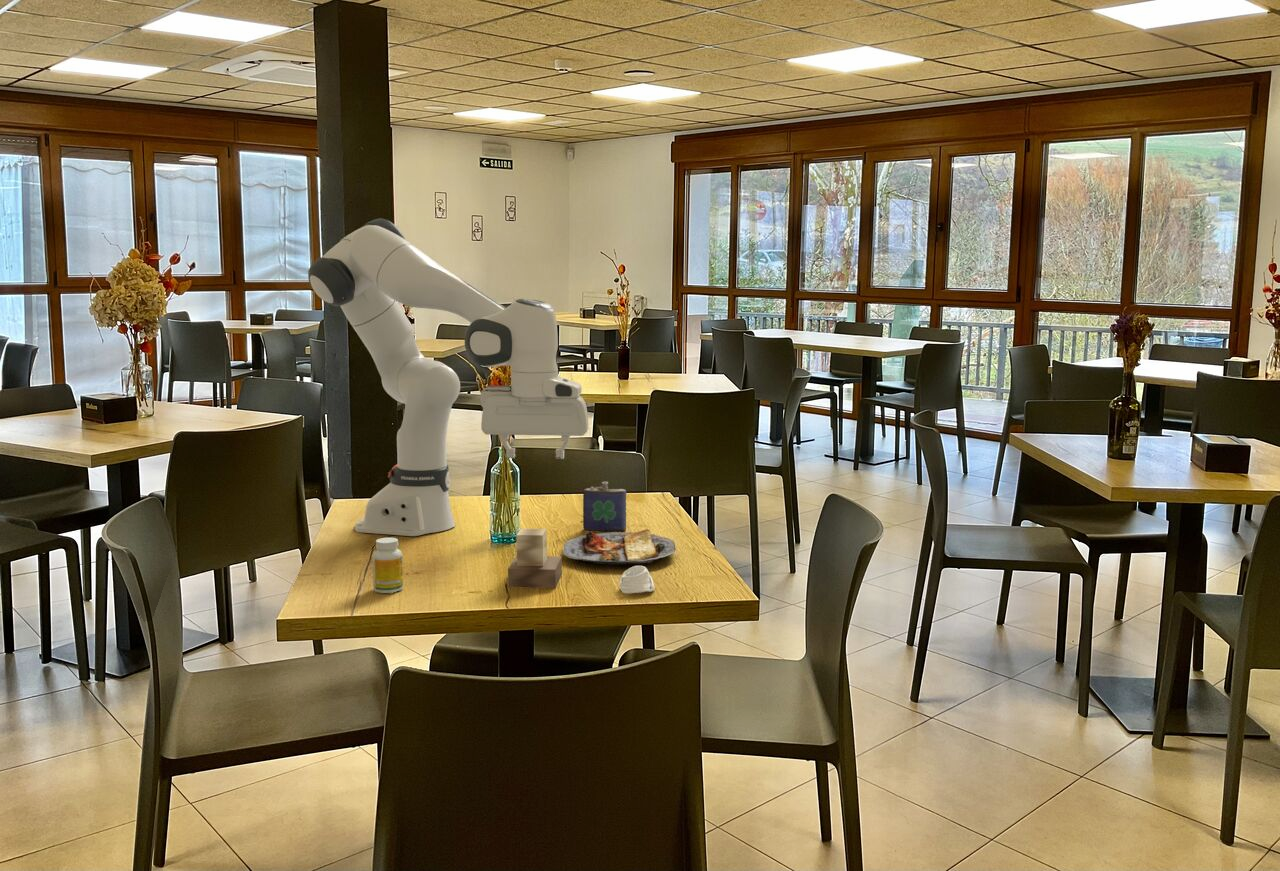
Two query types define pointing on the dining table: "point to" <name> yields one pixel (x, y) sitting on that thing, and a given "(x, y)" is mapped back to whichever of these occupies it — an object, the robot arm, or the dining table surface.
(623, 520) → the flask
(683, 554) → the dining table surface
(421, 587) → the dining table surface
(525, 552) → the tan piece
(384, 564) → the supplement bottle
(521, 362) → the robot arm
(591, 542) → the food plate
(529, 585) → the walnut block
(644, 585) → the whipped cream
